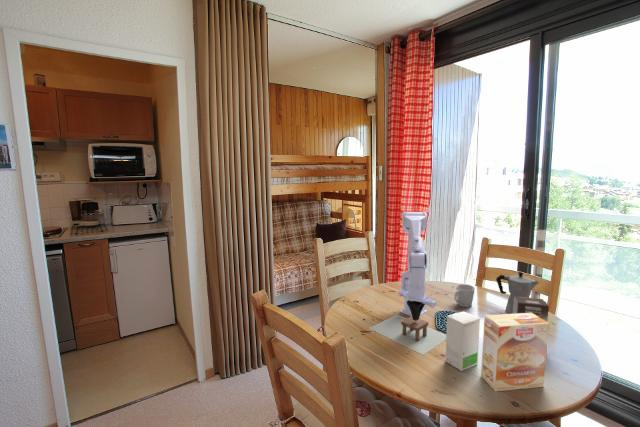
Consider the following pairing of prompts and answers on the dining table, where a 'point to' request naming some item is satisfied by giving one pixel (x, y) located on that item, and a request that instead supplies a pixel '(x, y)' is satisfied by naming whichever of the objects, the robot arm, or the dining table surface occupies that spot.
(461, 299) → the cup
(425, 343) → the mat
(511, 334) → the coffeecake box
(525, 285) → the coffeepot
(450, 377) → the dining table surface
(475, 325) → the skincare box
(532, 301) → the coffee box
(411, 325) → the stool
